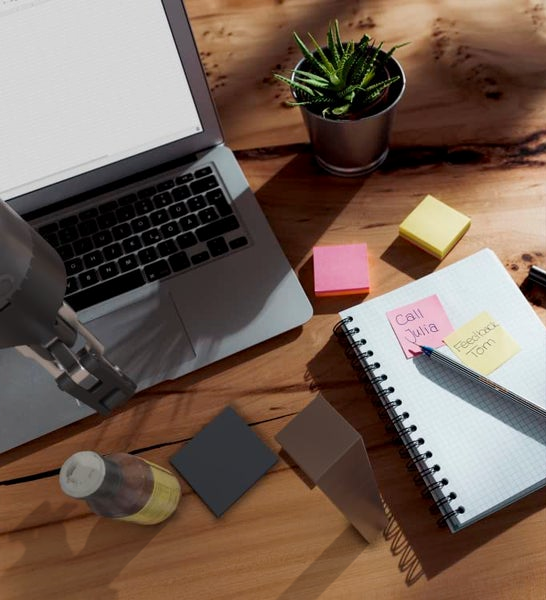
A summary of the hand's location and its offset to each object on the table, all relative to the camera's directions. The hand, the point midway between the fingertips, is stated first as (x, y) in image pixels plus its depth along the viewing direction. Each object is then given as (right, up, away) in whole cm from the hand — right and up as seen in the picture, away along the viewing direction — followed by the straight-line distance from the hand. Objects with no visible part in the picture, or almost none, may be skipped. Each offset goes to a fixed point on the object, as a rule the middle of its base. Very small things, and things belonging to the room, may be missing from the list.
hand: (91, 356), depth 50 cm
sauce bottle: (-4, -18, +25) cm, 31 cm away
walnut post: (+20, -21, +23) cm, 37 cm away
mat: (+3, -14, +26) cm, 30 cm away
